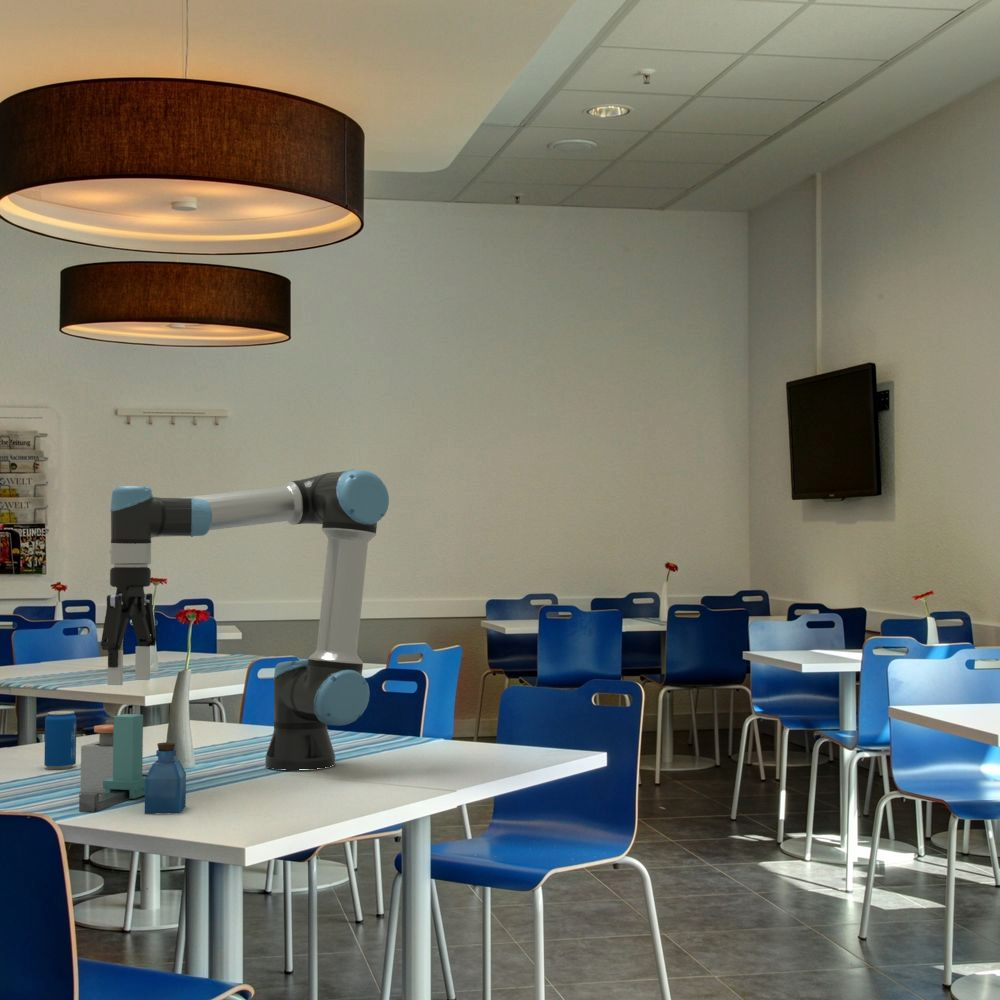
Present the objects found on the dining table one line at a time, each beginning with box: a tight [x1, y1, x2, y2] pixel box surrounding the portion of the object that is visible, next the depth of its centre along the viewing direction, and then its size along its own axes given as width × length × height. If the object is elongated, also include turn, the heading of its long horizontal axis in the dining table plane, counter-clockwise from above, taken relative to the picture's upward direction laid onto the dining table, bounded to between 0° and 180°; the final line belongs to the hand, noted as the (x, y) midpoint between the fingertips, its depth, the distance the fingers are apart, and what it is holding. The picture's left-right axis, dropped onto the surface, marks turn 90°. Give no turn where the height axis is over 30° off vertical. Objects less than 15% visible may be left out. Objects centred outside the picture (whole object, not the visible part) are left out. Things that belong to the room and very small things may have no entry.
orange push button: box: [93, 724, 114, 746], centre depth 256 cm, size 5×5×6 cm
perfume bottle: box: [144, 742, 187, 815], centre depth 236 cm, size 6×6×12 cm
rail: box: [78, 772, 148, 813], centre depth 246 cm, size 3×24×3 cm, turn 168°
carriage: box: [103, 713, 146, 800], centre depth 249 cm, size 7×6×15 cm
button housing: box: [79, 740, 113, 795], centre depth 256 cm, size 7×7×9 cm
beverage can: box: [43, 710, 77, 771], centre depth 283 cm, size 6×6×12 cm
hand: (129, 682), depth 250 cm, fingers open, 10 cm apart
